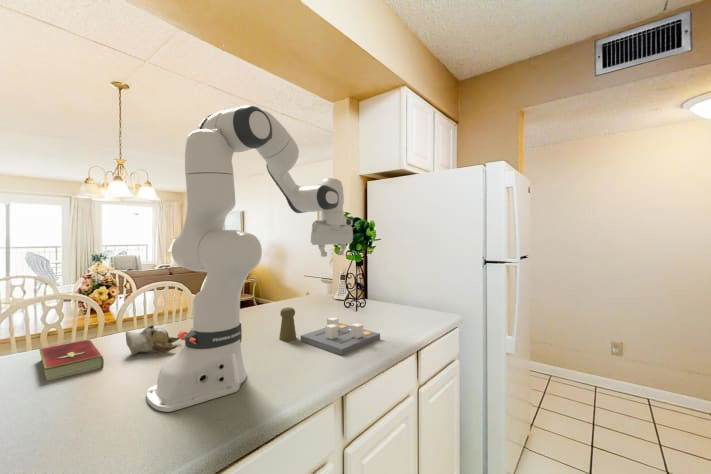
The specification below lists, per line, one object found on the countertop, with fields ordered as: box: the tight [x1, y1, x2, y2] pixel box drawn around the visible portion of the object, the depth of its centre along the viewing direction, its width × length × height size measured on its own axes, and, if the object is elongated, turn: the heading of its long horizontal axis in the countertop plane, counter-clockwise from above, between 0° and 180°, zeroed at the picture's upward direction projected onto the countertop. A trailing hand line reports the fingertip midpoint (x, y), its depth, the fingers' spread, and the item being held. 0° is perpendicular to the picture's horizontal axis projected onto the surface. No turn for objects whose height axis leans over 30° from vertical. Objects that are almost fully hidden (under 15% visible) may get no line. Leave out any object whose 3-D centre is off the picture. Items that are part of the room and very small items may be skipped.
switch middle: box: [324, 324, 338, 339], centre depth 109 cm, size 3×3×4 cm
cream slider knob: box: [350, 322, 364, 338], centre depth 110 cm, size 3×3×4 cm
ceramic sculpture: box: [125, 325, 180, 356], centre depth 102 cm, size 11×9×15 cm
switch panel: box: [300, 322, 381, 356], centre depth 112 cm, size 20×20×2 cm
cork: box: [279, 307, 297, 342], centre depth 114 cm, size 6×6×11 cm
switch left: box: [326, 317, 339, 326], centre depth 117 cm, size 3×3×4 cm
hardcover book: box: [39, 338, 105, 382], centre depth 92 cm, size 12×21×4 cm, turn 48°
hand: (332, 255), depth 124 cm, fingers open, 8 cm apart
